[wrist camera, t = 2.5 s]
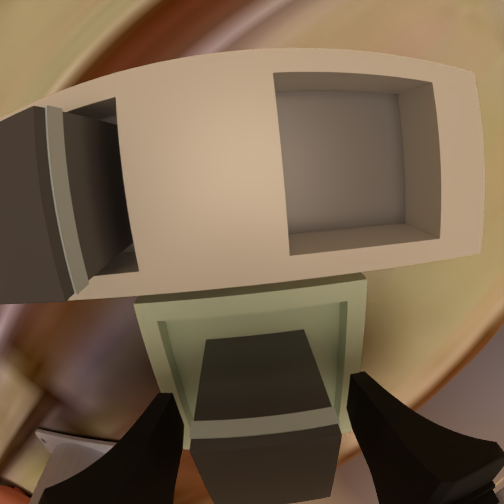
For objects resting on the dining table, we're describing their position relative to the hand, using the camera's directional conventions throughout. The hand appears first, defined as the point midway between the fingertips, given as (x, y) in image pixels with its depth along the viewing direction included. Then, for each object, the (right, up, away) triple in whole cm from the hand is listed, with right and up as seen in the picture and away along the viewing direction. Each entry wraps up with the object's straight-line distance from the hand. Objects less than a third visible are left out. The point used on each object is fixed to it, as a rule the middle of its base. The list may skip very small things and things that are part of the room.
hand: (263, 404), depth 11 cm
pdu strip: (-2, +9, 0) cm, 9 cm away
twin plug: (-7, +9, -1) cm, 11 cm away
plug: (0, +1, +2) cm, 2 cm away
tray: (0, +1, +3) cm, 3 cm away
